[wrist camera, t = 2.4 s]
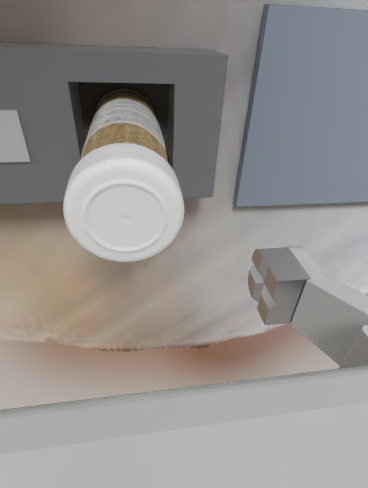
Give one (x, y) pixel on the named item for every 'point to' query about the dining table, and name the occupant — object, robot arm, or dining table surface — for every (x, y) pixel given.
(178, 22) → the dining table surface
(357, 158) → the rubber mat
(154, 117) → the sprinkles bottle
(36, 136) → the power strip
